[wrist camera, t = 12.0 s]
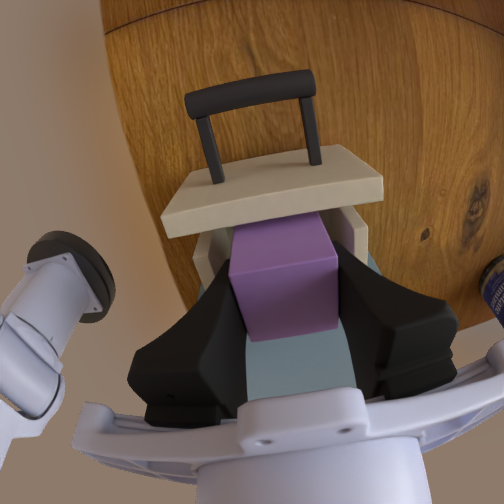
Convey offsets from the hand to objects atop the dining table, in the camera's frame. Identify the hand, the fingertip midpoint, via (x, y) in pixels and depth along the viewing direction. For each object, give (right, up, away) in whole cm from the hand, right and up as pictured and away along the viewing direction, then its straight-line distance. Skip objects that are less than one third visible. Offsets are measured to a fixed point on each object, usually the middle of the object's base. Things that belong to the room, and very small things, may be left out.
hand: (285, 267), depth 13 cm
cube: (0, +1, +1) cm, 1 cm away
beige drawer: (0, +4, +6) cm, 7 cm away
